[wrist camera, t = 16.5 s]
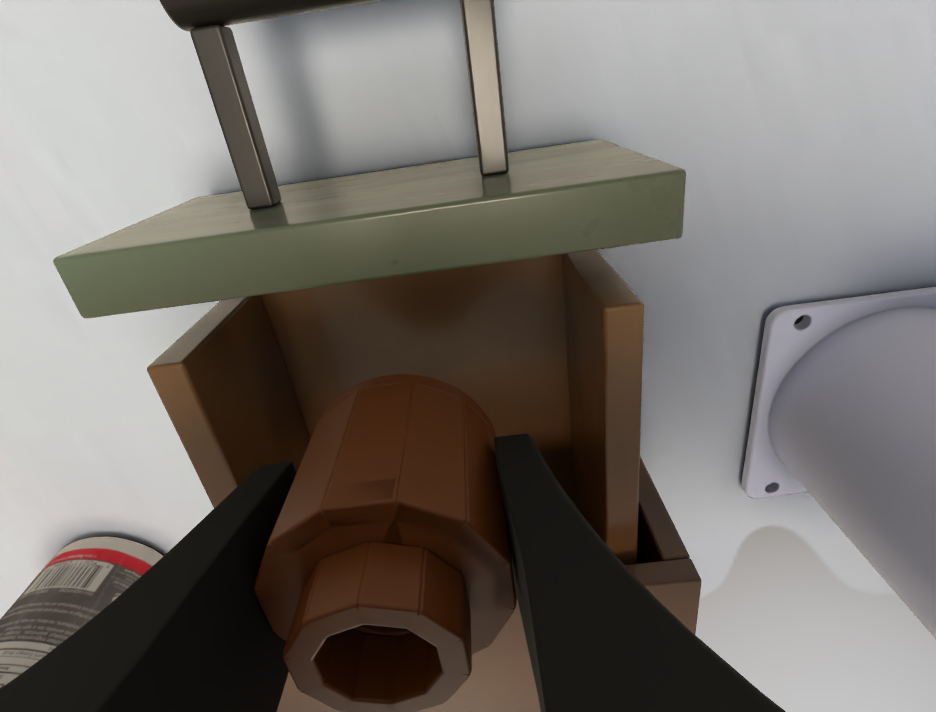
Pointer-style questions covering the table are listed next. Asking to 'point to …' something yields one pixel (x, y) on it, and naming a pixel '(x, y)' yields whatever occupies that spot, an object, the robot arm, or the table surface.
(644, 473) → the cabinet
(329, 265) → the drawer
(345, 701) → the spice bottle
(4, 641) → the pill bottle
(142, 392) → the table surface
